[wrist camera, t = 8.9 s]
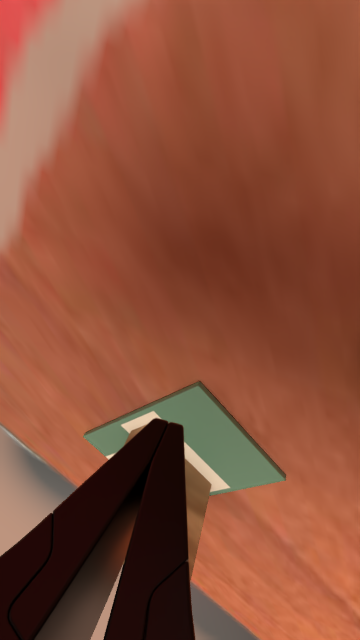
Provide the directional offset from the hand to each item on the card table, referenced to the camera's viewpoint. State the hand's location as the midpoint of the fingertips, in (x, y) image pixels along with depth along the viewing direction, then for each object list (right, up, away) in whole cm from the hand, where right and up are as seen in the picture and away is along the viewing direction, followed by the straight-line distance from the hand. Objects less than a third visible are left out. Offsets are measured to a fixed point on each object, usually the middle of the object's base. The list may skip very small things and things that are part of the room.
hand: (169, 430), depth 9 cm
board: (0, -9, +22) cm, 24 cm away
